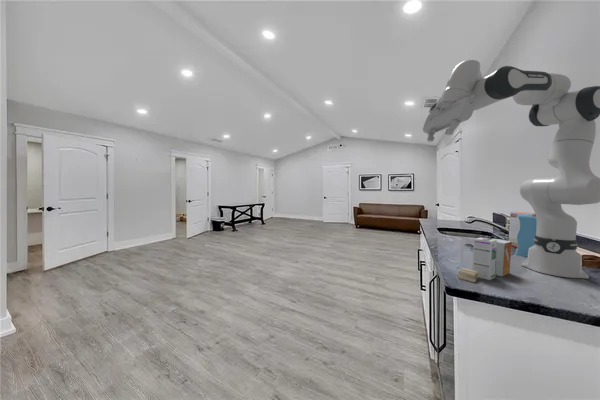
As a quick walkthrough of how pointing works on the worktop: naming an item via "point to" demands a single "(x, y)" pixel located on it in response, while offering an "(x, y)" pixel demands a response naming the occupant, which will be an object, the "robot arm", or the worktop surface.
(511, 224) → the cracker box
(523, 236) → the vase
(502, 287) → the worktop surface
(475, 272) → the maple block
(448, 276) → the worktop surface
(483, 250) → the syrup box
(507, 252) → the small box
